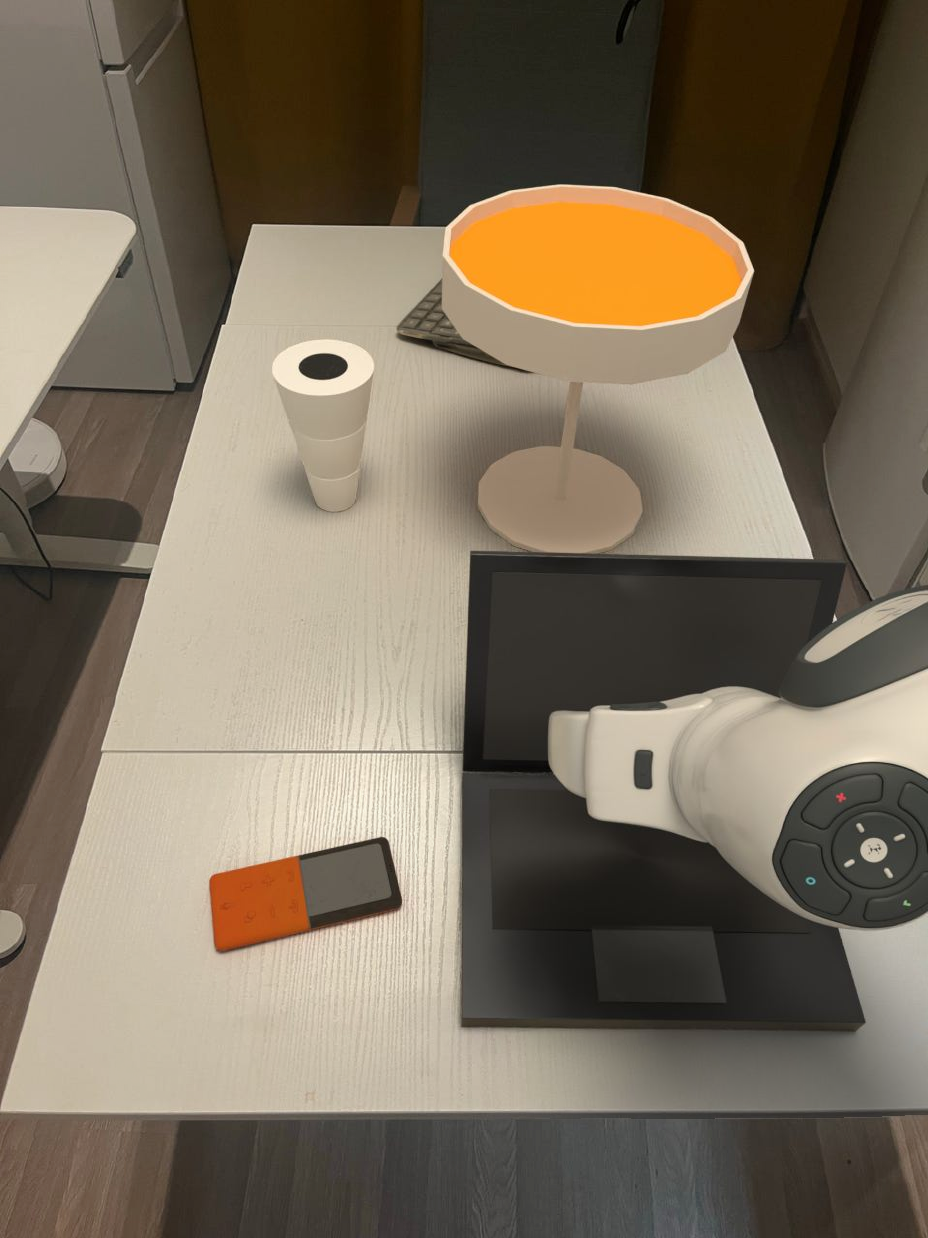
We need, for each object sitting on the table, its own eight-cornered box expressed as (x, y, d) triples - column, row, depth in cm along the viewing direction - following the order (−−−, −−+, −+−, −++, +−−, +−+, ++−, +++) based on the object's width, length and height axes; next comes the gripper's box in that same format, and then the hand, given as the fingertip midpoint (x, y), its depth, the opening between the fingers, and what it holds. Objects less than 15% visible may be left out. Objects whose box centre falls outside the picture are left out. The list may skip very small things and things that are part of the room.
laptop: (620, 283, 145) (632, 219, 137) (555, 383, 125) (564, 314, 117) (476, 249, 151) (479, 186, 143) (392, 339, 131) (390, 271, 123)
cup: (398, 493, 108) (394, 362, 95) (339, 541, 102) (327, 407, 89) (332, 459, 112) (319, 328, 99) (271, 503, 106) (250, 370, 93)
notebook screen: (847, 563, 71) (843, 559, 72) (470, 554, 70) (470, 550, 71) (795, 778, 80) (791, 772, 81) (462, 772, 79) (462, 766, 80)
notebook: (856, 1031, 68) (866, 1022, 66) (461, 1027, 67) (461, 1017, 65) (788, 790, 82) (795, 778, 80) (461, 784, 81) (462, 772, 79)
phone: (207, 872, 73) (387, 832, 76) (210, 879, 74) (387, 839, 77) (213, 948, 69) (403, 903, 72) (216, 955, 70) (404, 910, 73)
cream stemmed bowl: (523, 401, 122) (547, 161, 99) (722, 487, 111) (802, 239, 88) (386, 515, 105) (376, 257, 82) (605, 629, 94) (664, 369, 71)
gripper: (924, 713, 51) (821, 685, 65) (565, 709, 50) (540, 681, 64) (919, 823, 51) (819, 772, 65) (563, 819, 51) (538, 768, 64)
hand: (677, 727), depth 65 cm, fingers closed
